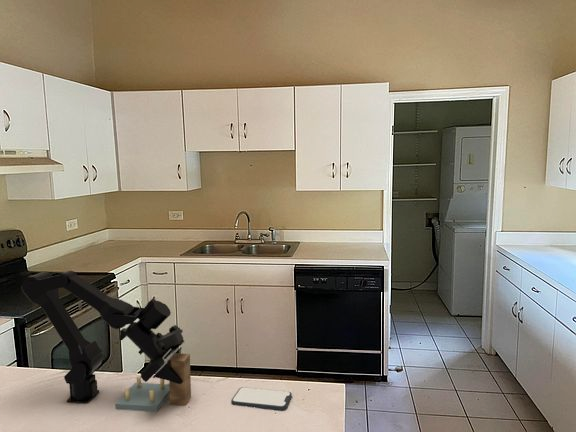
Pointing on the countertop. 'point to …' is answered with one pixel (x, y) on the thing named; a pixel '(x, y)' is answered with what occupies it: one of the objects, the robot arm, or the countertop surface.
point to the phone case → (262, 398)
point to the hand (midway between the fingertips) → (184, 378)
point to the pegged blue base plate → (144, 396)
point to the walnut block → (182, 367)
